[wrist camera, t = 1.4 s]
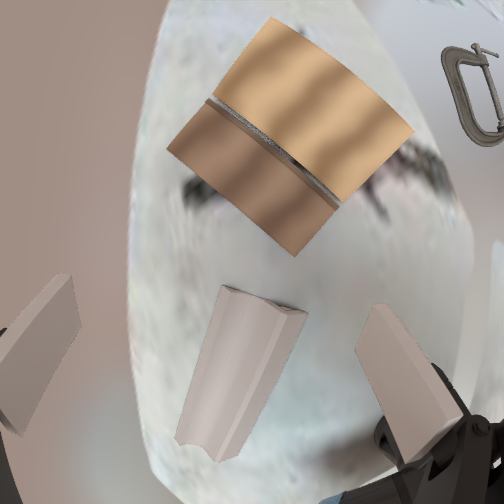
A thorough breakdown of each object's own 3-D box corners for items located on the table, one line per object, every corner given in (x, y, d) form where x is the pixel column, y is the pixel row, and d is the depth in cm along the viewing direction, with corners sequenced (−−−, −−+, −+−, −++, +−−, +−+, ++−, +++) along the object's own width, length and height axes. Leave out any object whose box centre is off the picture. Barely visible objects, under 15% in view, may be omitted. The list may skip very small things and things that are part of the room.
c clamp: (428, 30, 28) (435, 23, 26) (495, 55, 27) (503, 50, 25) (456, 143, 32) (466, 141, 29) (519, 155, 31) (529, 154, 28)
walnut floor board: (335, 205, 34) (340, 206, 32) (292, 254, 36) (294, 257, 33) (212, 103, 33) (208, 97, 30) (171, 151, 34) (165, 148, 32)
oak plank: (411, 129, 27) (414, 131, 25) (343, 197, 34) (343, 202, 32) (275, 20, 25) (271, 16, 23) (219, 94, 32) (212, 94, 30)
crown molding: (224, 283, 37) (220, 292, 34) (310, 311, 38) (314, 322, 34) (176, 435, 43) (171, 448, 40) (239, 453, 43) (237, 467, 40)
